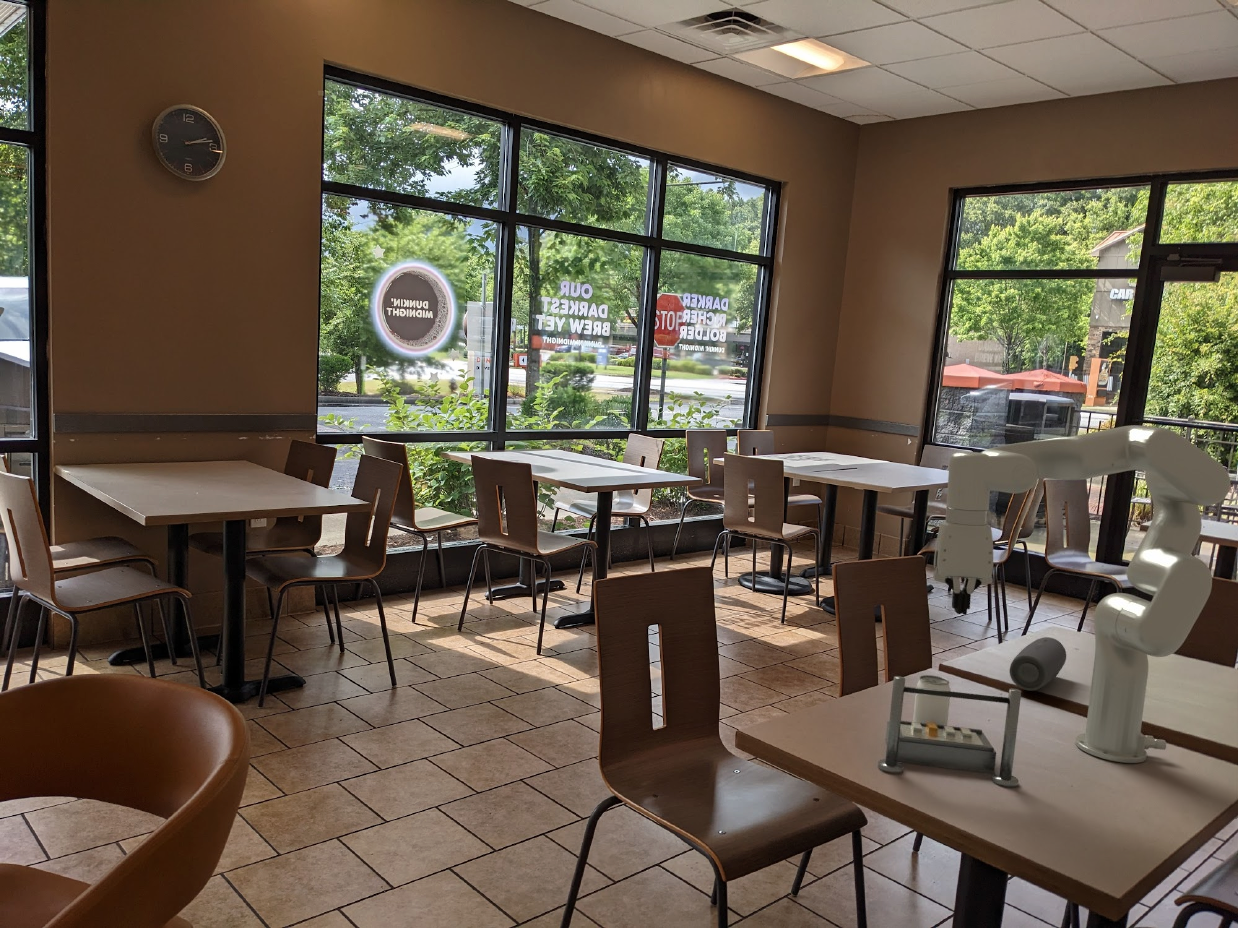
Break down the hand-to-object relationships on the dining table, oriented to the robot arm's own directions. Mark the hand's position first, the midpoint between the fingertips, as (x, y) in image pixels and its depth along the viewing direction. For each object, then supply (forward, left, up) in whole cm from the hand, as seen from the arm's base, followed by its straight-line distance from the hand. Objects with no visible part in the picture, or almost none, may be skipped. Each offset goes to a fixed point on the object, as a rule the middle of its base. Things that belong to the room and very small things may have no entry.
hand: (960, 612), depth 181 cm
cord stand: (+2, +13, -27) cm, 30 cm away
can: (+2, -5, -27) cm, 28 cm away
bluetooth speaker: (-31, -51, -27) cm, 66 cm away
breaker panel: (+2, +5, -27) cm, 28 cm away
